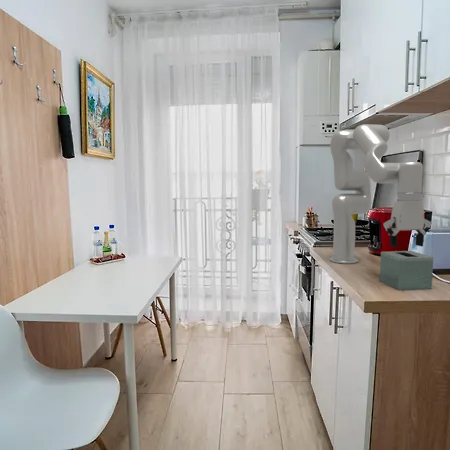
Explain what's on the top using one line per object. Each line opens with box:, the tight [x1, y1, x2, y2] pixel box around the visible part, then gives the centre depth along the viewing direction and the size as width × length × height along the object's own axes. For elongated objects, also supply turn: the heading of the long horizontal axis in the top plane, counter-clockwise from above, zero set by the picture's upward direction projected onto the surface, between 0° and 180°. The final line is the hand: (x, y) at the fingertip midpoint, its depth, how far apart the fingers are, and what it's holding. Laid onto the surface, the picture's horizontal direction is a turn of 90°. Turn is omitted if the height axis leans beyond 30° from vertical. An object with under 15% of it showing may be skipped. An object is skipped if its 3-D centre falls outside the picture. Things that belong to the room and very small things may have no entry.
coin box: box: [379, 250, 434, 291], centre depth 125 cm, size 12×12×11 cm
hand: (406, 246), depth 124 cm, fingers open, 9 cm apart
